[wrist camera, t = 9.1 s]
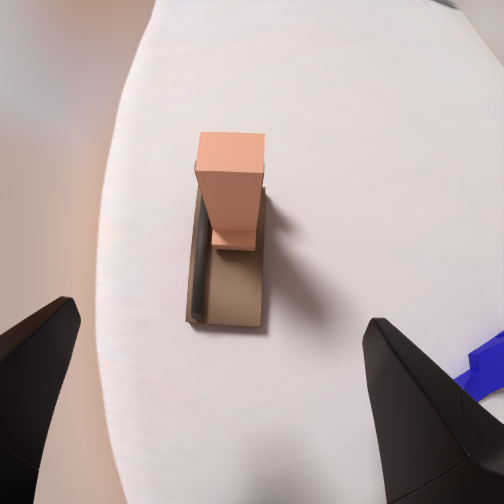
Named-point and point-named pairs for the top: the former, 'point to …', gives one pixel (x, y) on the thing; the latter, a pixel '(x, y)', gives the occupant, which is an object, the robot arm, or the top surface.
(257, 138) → the block
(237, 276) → the grey block holder
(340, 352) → the top surface
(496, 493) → the robot arm
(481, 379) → the cable clip
